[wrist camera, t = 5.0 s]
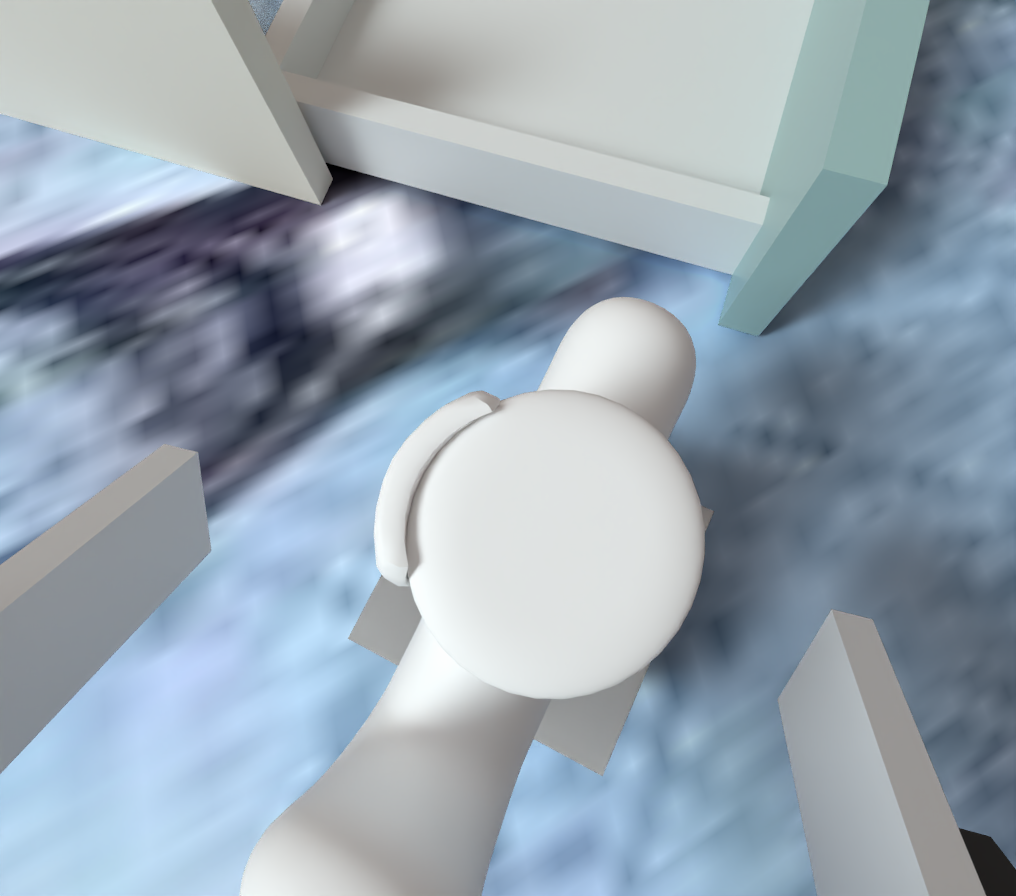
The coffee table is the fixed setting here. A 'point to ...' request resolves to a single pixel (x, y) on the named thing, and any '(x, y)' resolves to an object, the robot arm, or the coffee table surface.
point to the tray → (623, 117)
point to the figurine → (506, 610)
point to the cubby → (162, 86)
